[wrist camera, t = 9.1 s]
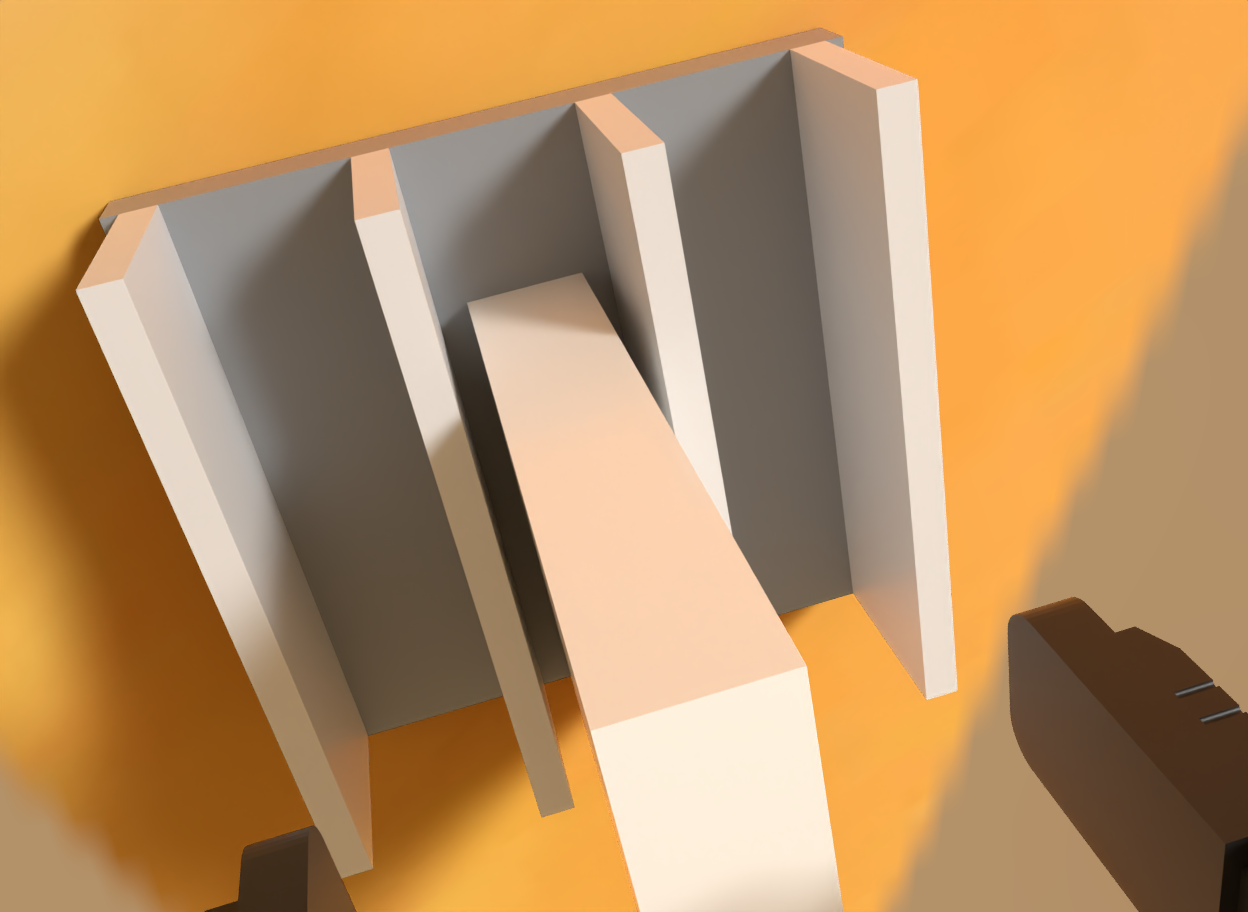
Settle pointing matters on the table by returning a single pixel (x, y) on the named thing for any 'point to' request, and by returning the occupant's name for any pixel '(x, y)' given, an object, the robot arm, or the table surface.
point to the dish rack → (462, 398)
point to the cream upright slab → (658, 623)
